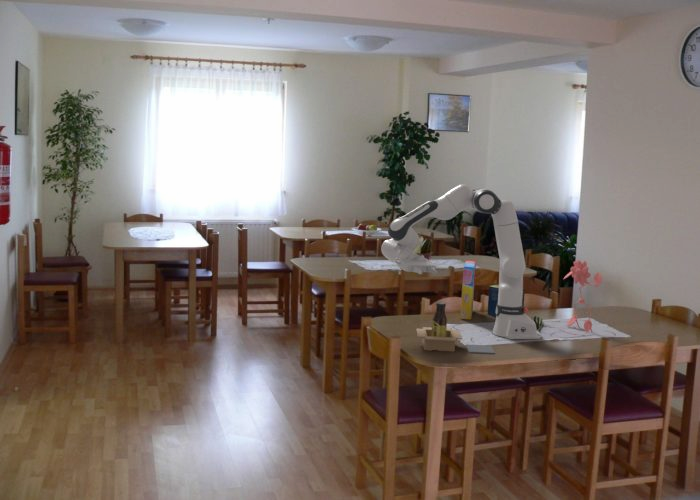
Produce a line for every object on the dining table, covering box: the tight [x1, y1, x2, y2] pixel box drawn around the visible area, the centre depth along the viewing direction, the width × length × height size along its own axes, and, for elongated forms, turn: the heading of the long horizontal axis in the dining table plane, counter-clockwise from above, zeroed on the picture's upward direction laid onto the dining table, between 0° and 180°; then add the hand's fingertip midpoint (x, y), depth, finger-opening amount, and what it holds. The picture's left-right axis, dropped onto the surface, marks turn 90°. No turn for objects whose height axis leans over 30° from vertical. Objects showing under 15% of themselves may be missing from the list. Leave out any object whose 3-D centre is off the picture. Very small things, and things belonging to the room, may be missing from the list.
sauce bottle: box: [431, 301, 448, 337], centre depth 325 cm, size 7×6×20 cm
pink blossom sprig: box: [558, 259, 603, 337], centre depth 361 cm, size 15×26×35 cm, turn 26°
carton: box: [415, 326, 463, 352], centre depth 326 cm, size 19×19×6 cm
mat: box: [465, 343, 496, 355], centre depth 324 cm, size 11×11×1 cm
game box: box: [459, 260, 477, 320], centre depth 385 cm, size 21×6×27 cm, turn 168°
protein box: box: [487, 283, 526, 318], centre depth 387 cm, size 10×15×16 cm
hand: (429, 273), depth 333 cm, fingers open, 8 cm apart
